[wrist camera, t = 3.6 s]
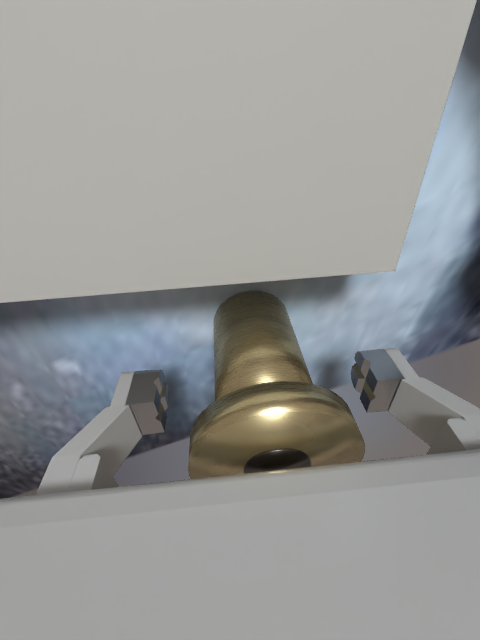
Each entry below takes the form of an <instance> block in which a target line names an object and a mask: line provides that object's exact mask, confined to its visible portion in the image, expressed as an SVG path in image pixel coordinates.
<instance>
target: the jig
mask: <svg viewBox="0 0 480 640" xmlns="http://www.w3.org/2000/svg"><path fill="white" fill-rule="evenodd" d="M476 1H477V0H0V303H6V302H18V301H30V300H43V299H55V298H67V297H80V296H92V295H105V294H117V293H129V292H142V291H154V290H166V289H179V288H191V287H203V286H216V285H228V284H241V283H253V282H265V281H278V280H290V279H302V278H315V277H327V276H340V275H352V274H364V273H377V272H389V271H395V270H396V267H397V263H398V260H399V257H400V253H401V250H402V247H403V243H404V240H405V237H406V234H407V230H408V227H409V224H410V220H411V217H412V214H413V210H414V207H415V204H416V200H417V197H418V194H419V190H420V187H421V184H422V180H423V177H424V174H425V171H426V167H427V164H428V161H429V157H430V154H431V151H432V147H433V144H434V141H435V137H436V134H437V131H438V127H439V124H440V121H441V118H442V114H443V111H444V108H445V104H446V101H447V98H448V94H449V91H450V88H451V84H452V81H453V78H454V74H455V71H456V68H457V64H458V61H459V58H460V55H461V51H462V48H463V45H464V41H465V38H466V35H467V31H468V28H469V25H470V21H471V18H472V15H473V11H474V8H475V5H476Z"/></svg>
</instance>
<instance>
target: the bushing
mask: <svg viewBox="0 0 480 640" xmlns="http://www.w3.org/2000/svg"><path fill="white" fill-rule="evenodd" d="M214 367H215V402H213V403H212V404H211V405H209V406H208V407H207V408H206V409H205V410H204V411H202V412H201V414H200V415H199V416H198V417H197V419H196V420H195V422H194V424H193V426H192V429H191V434H190V450H189V468H188V471H189V476H190V478H191V479H199V478H208V477H218V476H227V475H237V474H247V473H256V472H266V471H275V470H285V469H294V468H304V467H313V466H323V465H333V464H342V463H352V462H361V461H362V459H363V456H364V453H365V444H364V440H363V438H362V435H361V433H360V431H359V429H358V426H357V424H356V422H355V420H354V418H353V415H352V413H351V411H350V409H349V407H348V405H347V404H346V402H345V401H344V400H343V399H342V398H341V397H339V396H338V395H337V394H336V393H334V392H332V391H330V390H328V389H326V388H323V387H321V386H318V385H314V384H313V383H312V380H311V378H310V375H309V372H308V369H307V366H306V364H305V361H304V358H303V355H302V352H301V350H300V347H299V344H298V341H297V338H296V336H295V333H294V330H293V327H292V325H291V322H290V319H289V316H288V313H287V311H286V308H285V306H284V305H283V303H282V302H281V301H280V300H279V299H278V298H276V297H275V296H273V295H271V294H268V293H265V292H260V291H248V292H243V293H239V294H236V295H234V296H232V297H230V298H229V299H227V300H226V301H225V302H224V303H223V304H222V305H221V306H220V307H219V308H218V310H217V312H216V314H215V317H214Z"/></svg>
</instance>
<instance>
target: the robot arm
mask: <svg viewBox="0 0 480 640" xmlns="http://www.w3.org/2000/svg"><path fill="white" fill-rule="evenodd" d="M354 359H355V361H356V363H355V364H354V365H353V366H352V369H351V380H352V383H353V386H354V388H355V389H356V390H357V391H358V392H360V393H361V396H360V400H361V402H362V404H363V406H364V408H365V410H366V412H379V411H388V412H389V413H390V414H391V415H393V416H394V417H395V418H396V419H398V420H399V421H400V422H401V423H402V424H403V425H405V426H406V427H407V428H408V429H410V430H411V431H412V432H413V433H414V434H416V435H417V436H418V437H419V438H421V439H422V440H423V441H424V442H425V443H427V444H428V445H429V446H430V449H429V451H428V452H427V454H426V455H420V456H410V457H400V458H390V459H380V460H371V461H362V462H352V463H342V464H333V465H323V466H313V467H304V468H294V469H285V470H275V471H266V472H256V473H247V474H237V475H227V476H218V477H208V478H199V479H189V480H179V481H170V482H161V483H150V484H141V485H131V486H123V487H119V486H118V484H117V483H116V481H115V480H114V478H113V475H114V474H115V473H116V471H117V470H118V469H119V467H120V466H121V465H122V463H123V462H124V460H125V459H126V458H127V456H128V455H129V454H130V452H131V451H132V450H133V448H134V447H135V445H136V444H137V443H138V441H139V440H140V439H141V437H142V435H146V434H154V433H162V432H165V425H166V418H167V417H166V413H165V410H166V409H167V408H168V402H169V392H168V387H167V383H165V382H164V373H163V370H161V369H159V370H144V371H133V372H122V373H121V375H120V377H119V380H118V383H117V386H116V389H115V392H114V395H113V398H112V401H111V404H110V407H106V408H104V409H103V410H102V411H101V412H100V413H99V414H98V415H97V416H96V417H95V418H94V419H93V420H92V421H91V422H90V423H88V424H87V425H86V426H85V427H84V428H83V429H82V430H81V431H80V432H79V433H78V434H77V435H76V436H75V437H73V438H72V439H71V440H70V441H69V442H68V443H67V444H66V445H65V446H64V447H63V448H62V449H61V450H60V451H58V452H57V453H56V454H55V455H54V456H53V457H52V459H51V461H50V464H49V466H48V468H47V470H46V473H45V475H44V477H43V480H42V482H41V484H40V486H39V489H38V491H37V493H36V495H35V496H26V497H15V498H6V499H0V640H480V409H479V408H477V407H476V406H474V405H472V404H470V403H468V402H467V401H464V400H463V399H461V398H459V397H458V396H456V395H454V394H452V393H450V392H449V391H447V390H445V389H443V388H441V387H439V386H438V385H436V384H434V383H432V382H430V381H429V380H426V379H425V378H419V377H418V375H417V374H416V373H415V371H414V370H413V369H412V368H411V366H410V365H409V363H408V362H407V361H406V359H405V358H404V357H403V355H402V354H401V353H400V351H399V350H398V349H397V348H387V349H377V350H367V351H357V353H356V354H355V357H354Z"/></svg>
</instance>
